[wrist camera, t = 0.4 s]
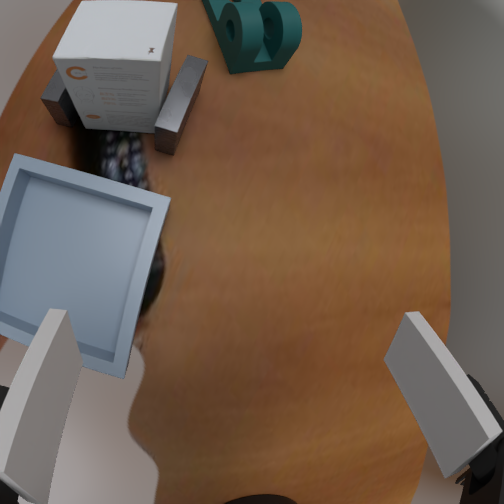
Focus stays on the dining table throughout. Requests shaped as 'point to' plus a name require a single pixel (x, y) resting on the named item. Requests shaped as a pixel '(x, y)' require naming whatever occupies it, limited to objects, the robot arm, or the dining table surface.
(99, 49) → the small box
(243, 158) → the dining table surface
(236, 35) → the bracket
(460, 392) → the robot arm
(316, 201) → the dining table surface
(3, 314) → the tray
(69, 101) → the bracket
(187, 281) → the dining table surface
